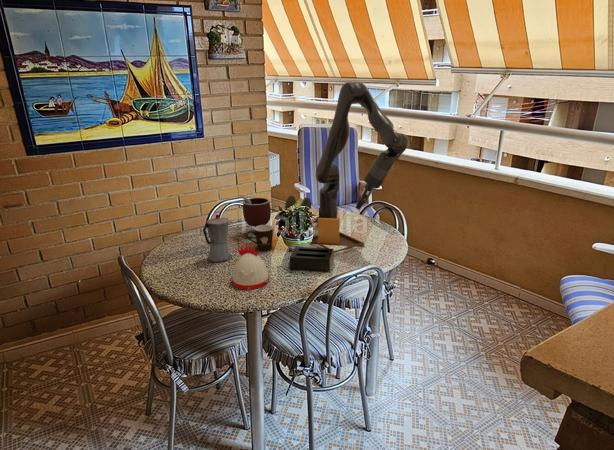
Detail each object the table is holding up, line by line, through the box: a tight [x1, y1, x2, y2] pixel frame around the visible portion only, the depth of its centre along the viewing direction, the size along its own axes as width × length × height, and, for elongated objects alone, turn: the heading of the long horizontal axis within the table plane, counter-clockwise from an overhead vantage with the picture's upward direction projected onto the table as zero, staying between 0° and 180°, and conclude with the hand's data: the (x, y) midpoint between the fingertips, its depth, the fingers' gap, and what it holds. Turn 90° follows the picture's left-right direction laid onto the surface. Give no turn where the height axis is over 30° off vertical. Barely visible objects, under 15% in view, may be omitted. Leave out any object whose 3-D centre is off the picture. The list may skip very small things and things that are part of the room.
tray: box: [310, 231, 365, 254], centre depth 191 cm, size 21×17×2 cm
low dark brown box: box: [289, 246, 335, 273], centre depth 166 cm, size 17×11×7 cm, turn 78°
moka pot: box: [202, 214, 230, 263], centre depth 175 cm, size 10×15×20 cm, turn 155°
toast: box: [317, 218, 340, 244], centre depth 190 cm, size 10×1×12 cm, turn 78°
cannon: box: [284, 195, 312, 210], centre depth 226 cm, size 25×12×11 cm, turn 152°
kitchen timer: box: [231, 244, 270, 290], centre depth 156 cm, size 14×14×15 cm
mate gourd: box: [239, 194, 272, 239], centre depth 205 cm, size 16×14×20 cm
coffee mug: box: [245, 224, 274, 252], centre depth 188 cm, size 12×9×10 cm
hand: (358, 205), depth 183 cm, fingers open, 8 cm apart
